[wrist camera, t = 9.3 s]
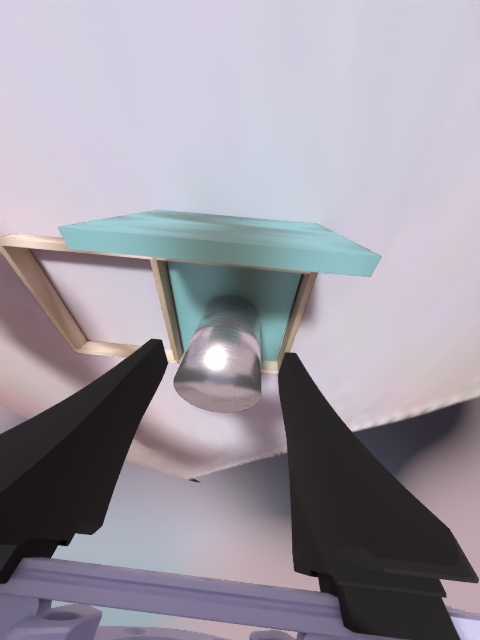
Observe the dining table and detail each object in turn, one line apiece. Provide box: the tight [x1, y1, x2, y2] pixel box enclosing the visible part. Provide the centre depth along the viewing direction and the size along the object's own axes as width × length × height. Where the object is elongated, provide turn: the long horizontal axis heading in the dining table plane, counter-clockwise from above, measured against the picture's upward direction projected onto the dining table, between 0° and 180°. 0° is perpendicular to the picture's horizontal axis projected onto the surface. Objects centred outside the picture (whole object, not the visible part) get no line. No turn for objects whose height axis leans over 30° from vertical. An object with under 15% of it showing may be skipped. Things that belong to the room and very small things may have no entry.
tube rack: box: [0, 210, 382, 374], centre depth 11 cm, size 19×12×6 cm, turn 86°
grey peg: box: [174, 295, 261, 413], centre depth 11 cm, size 4×4×6 cm
